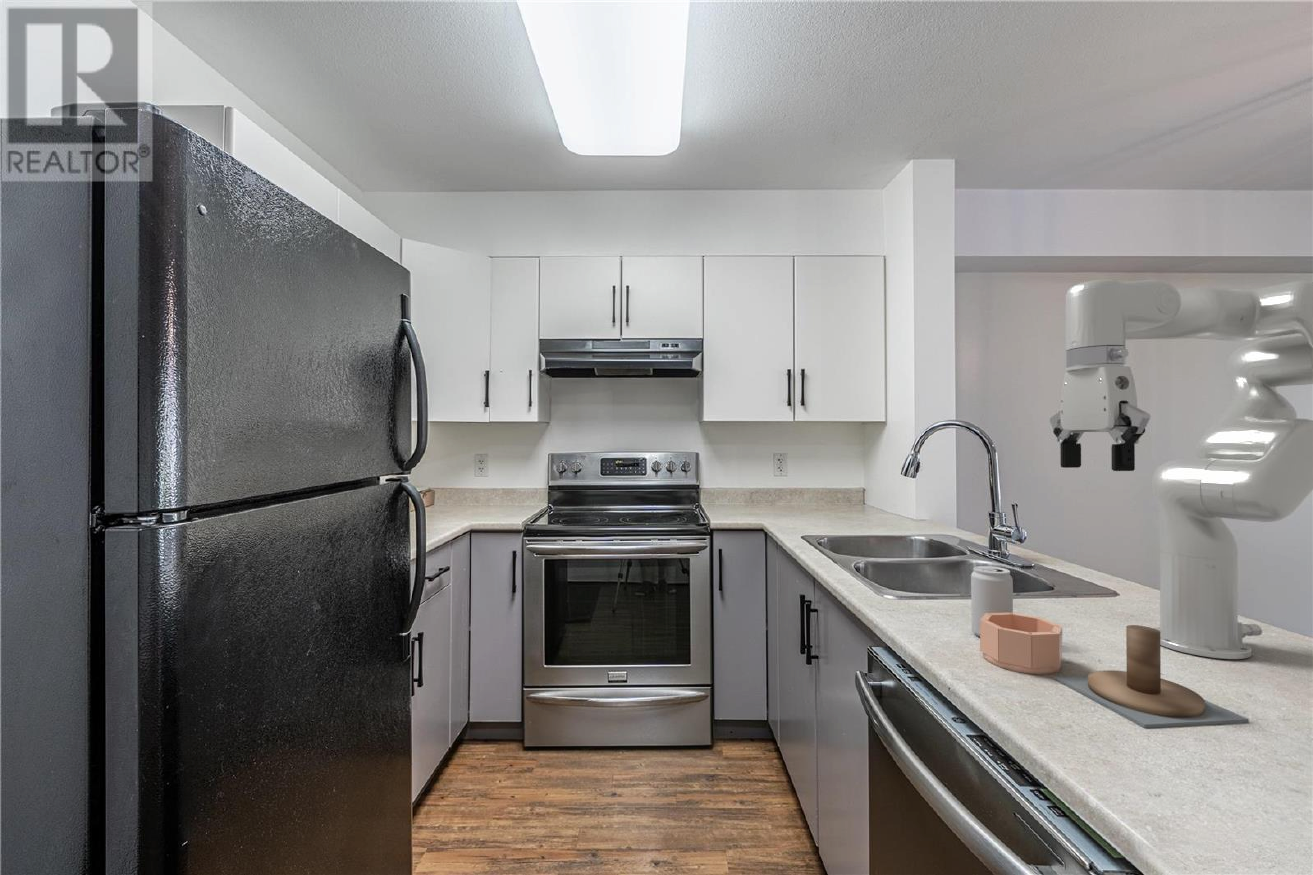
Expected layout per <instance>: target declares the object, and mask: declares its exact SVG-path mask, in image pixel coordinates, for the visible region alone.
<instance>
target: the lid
mask: <svg viewBox="0 0 1313 875" xmlns="http://www.w3.org/2000/svg"><path fill="white" fill-rule="evenodd" d="M1154 628H1155V627H1150V626H1146V625H1145V626H1143V625H1137V624H1130V625H1127V626H1126V629H1125V630H1126V635H1125V636H1126V640H1125V642H1126V646H1125V647H1126V649H1125V650H1126V671H1125V670H1111V669H1110V670H1108V669H1107V670H1105V669H1104V670H1098V671H1093V672H1091V673H1089V674H1087V675H1088V687H1089V689H1090V690H1091V691H1092V692H1093V693H1095V694H1096V695H1098V696H1099V697H1101V698H1103V699H1105V700H1107V701H1109V702H1112V703H1114V704H1117V705H1119V706H1122V707H1125V708H1128V709H1132V710H1135V711H1139V712H1143V713H1148V714H1152V715H1158V716H1165V717H1174V718H1192V717H1198V716H1200V715H1202V714H1204V712H1205V701H1204V700H1205V699H1204V698H1203V696H1201V695H1200V694H1199V693H1197V692H1196V691H1194V690H1192V689H1190V688H1188V687H1186V686H1184V685H1181V684H1179V683H1176V682H1173V681H1171V680H1168V679H1163V678H1161V677H1162V676H1161V674H1162V673H1161V671H1162V670H1161V666H1162V665H1161V645H1160V631H1159V630H1157V629H1154Z"/></svg>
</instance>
